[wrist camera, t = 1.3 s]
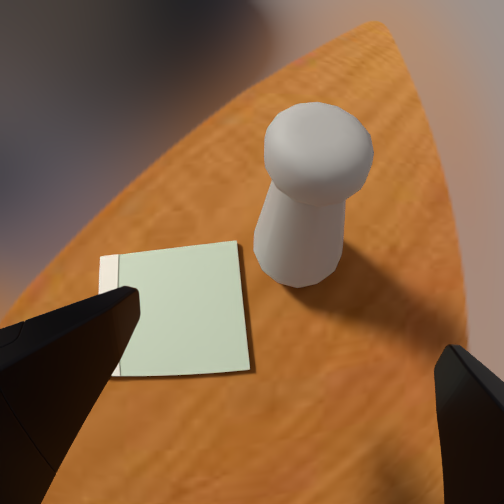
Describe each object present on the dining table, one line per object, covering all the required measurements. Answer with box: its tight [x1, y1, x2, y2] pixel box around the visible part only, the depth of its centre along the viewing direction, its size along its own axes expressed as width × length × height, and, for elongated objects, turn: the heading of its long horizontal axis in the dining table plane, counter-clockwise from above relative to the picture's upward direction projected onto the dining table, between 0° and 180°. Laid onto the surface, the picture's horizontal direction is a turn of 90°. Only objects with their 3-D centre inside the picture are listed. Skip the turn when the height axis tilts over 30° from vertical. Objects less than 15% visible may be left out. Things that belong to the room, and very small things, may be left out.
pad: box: [99, 241, 250, 376], centre depth 22 cm, size 9×11×1 cm
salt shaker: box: [253, 102, 374, 288], centre depth 17 cm, size 6×6×13 cm
